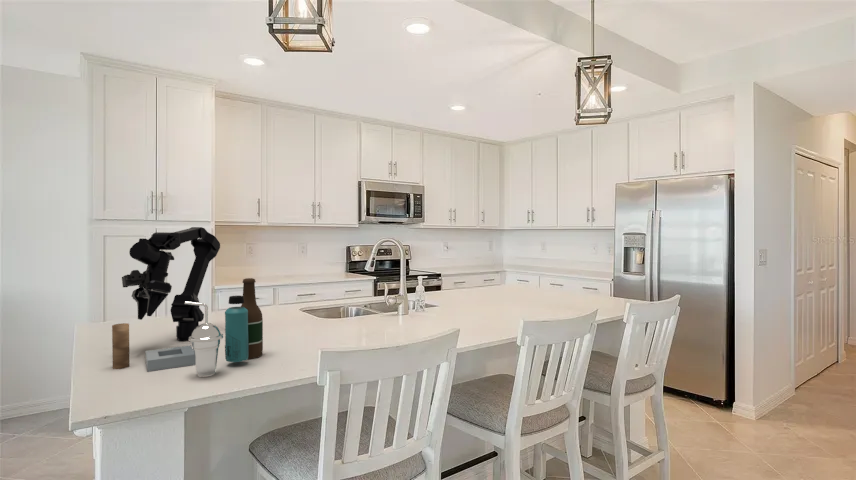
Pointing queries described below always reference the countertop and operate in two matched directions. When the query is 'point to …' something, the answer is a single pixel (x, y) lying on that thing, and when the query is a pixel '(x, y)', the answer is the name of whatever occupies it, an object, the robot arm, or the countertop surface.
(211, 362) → the cup with straw
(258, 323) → the beer bottle
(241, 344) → the beverage bottle
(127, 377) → the countertop surface
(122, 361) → the peg
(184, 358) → the socket
